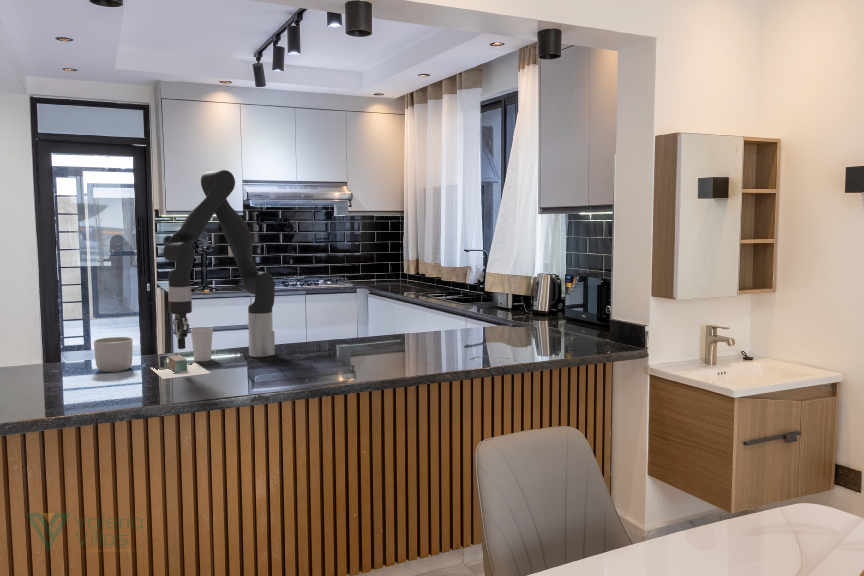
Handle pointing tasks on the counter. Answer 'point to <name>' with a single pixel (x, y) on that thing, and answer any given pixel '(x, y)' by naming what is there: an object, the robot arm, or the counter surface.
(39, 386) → the counter surface
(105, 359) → the planter
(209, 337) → the cup
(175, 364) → the walnut block
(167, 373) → the cream flat rectangular panel
